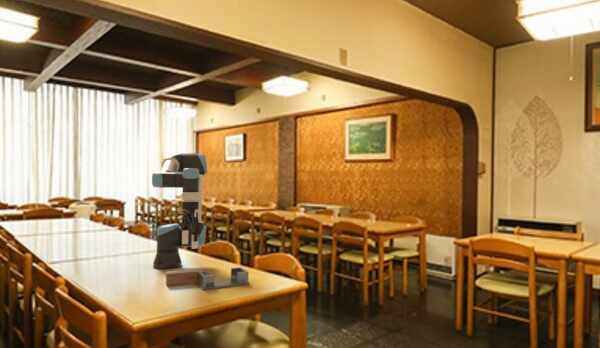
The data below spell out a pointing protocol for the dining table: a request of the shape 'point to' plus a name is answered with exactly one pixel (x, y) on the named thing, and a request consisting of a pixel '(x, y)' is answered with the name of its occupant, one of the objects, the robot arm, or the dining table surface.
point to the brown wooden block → (182, 277)
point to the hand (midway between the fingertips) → (189, 246)
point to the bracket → (237, 279)
